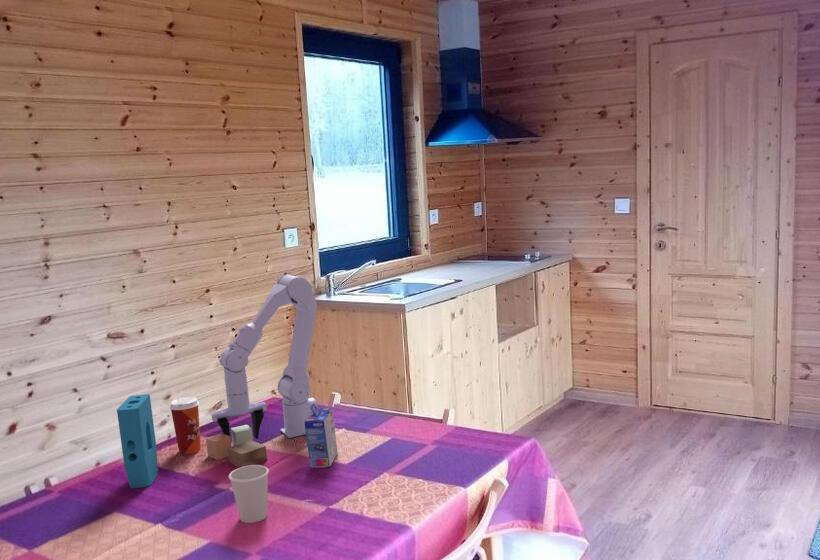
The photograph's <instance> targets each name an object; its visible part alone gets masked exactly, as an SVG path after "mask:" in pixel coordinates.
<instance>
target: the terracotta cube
mask: <svg viewBox="0 0 820 560" xmlns="http://www.w3.org/2000/svg"><path fill="white" fill-rule="evenodd" d="M205 442H206V443H205V444H206V452H207V456H208V458H211V459H214V460H217V461H218V460H220V459H224V458H226V457H229V456H228V448H230V447H232V437H231V435H230V436H228V435H225V434H224V433H223V432H222V433H221V432H220V433H217V434H215V435H214V434H213V435H211V436H209V437H206V438H205Z"/></svg>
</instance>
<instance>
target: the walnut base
mask: <svg viewBox="0 0 820 560" xmlns="http://www.w3.org/2000/svg"><path fill="white" fill-rule="evenodd" d="M266 447H267V446H266V445H265V444H262V443H259V442H257V441H255V440H253V441H252V440H251V441H248V442H245V443H242V444H239V445H236V446H233V445H232V446H231V447H230V448H228V456H227V457H228V461H229V464H230V463H231V464H233V465H234V466H236V467H238V468H240V467H244V466H249V465H259V464H261V463H263V462H266V461H268V455H267V454H268V453H267V448H266Z"/></svg>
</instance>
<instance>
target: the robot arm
mask: <svg viewBox="0 0 820 560" xmlns="http://www.w3.org/2000/svg"><path fill="white" fill-rule="evenodd" d="M313 289H314V288H313V285H312V284H311V283H310V282H309V281H308V280H307V279H306V278H305V277H302V276H294V275H291V274H283V275H282V276H280V277H279V278H278V279H277V282H276V283H274V285H273V286H272V288H271V290H270V292H269V294H268V296H267V297H266V298H265V301H264V302H263V303H262V304H261V307H260V309H259V310H258V312H257V313H256V315H255V316H254V317H253V320H252V321H251V322H249V323H246V324H243V326H240V327H239V329H238V330H237V331H238V333H237V335H236V337H235V338H234V340H232V342H230V343H229V344H228V345H227V346H228V348H225V349H224V350H223V351H222V352H221V354H220V358H219V360H218V361H219V363H220V365H221V366H222V367H223V375H224V384H225V394H226V401H227V408H224V409H220V410H217V411H214V412H211V414H210V415H211V420H212V421H213V422H217V424H218V425H219V427H220V430H221V431H222V434H225V435H228V436H230V437H231V433H230V431H231V429H230V422H229V418H233V417H239V416H242V415H246V414H250V416H251V421H252V435H253V438H254V439H255V440H256V439H259V435H260V429H261V425H262V421H263V419H264V417H265V413H264V412H266V411H268V409H267V408H268V407H267V403H266V402H265V401H261V402H254V403H253V402H252V403H250V397H249V388H248V387H249V386H248V377H247V371H246V367H247V366H248V364H249V356H250V355H251V354H252V353H253V351H254V349H255V348H256V346H257V345H258V344H259V342H260V341H261V339H262V338H263V329H264V327H265V326H266V325H267V324H268V322H269V321H270V320H271V319H272V318H273V316H274V315H275V313H276V312H277V311H278V310H279V308H280V307H283V306H285V305H288V304H291V305H292V306H293V307H294V309H296V315H295V318H294V327H293V332H292V337H291V345H290V350H289V354H288V355H289V356H288V362H287V366H285V368H284V369H283V371H282V374H281V378H280V379H279V380H278V382H277V391H278V393H279V394H280V395H281V396H282V399H281V403H282V404H281V405H282V414H283V423H284V425H283V426H284V427H283V428H280V432H281V433H283V434H284V435H285V436H286V437H287V438H288V439H292V438H295V437H300V436H304V435H305V436H306V431H305V423H304V422H305V420H306V419H307V417H308V416H309V414H310V413H311V411H312V410H311V409H310V407H311V406H312V404H313V403H314V404H315V405H316V407H317V408H319V407H318V403H317V401H316V399H315V398H314V397H310V395H311V386H310V378H311V377H310V375H309V374H310V373H309V371H308V370H307V368H308V364H309V363H308V361H309V356H310V352H311V351H310V350H311V346H312V340H313V339H312V338H313V333H314V327H315V322H316V321H315V320H316V315H317V311H318V310H317V309H318V305H317V302H316V298H315V296H314V291H313ZM314 409H316V408H315V407H314Z"/></svg>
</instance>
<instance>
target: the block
mask: <svg viewBox="0 0 820 560" xmlns="http://www.w3.org/2000/svg"><path fill="white" fill-rule="evenodd" d="M116 414H117V420H118V429H119V437H120V442H121V452H122V457H123V464H124V465H123V466H124V468H125V474H126V476H127V482H128V484H129V489H139V488H146V487H149V486H152V484H153V482H154V481H155V479H156V478H157V476H158V475H159V472H158V471H159V468H158V466H159V465H158V454H157V453H158V451H157V449H158V448H157V440H156V433H155V432H156V431H155V425H154V419H153V409H152V402H151V396H150V394H149V393H148V394H146V393H145V394H136V395H131V396H130V395H129V396H128V398H127V399H125V400H124V401H123V403H122V404H120V405H119V406H118V407H117V409H116Z"/></svg>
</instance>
